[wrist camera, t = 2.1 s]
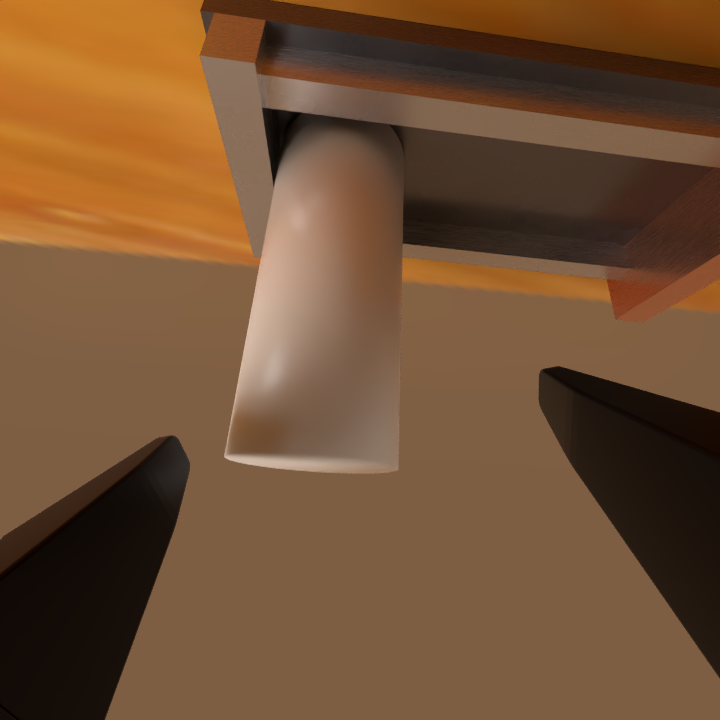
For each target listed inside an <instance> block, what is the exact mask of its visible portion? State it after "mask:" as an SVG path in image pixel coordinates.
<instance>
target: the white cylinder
mask: <svg viewBox="0 0 720 720" xmlns="http://www.w3.org/2000/svg"><path fill="white" fill-rule="evenodd" d="M403 200H404V153H403V148H402V145H401V142H400V140H399V138H398V136H397V135H396V133H395V131H394V130H393V129H392V128H391V126H390V125H389V124H385V123H377V122H369V121H362V120H354V119H347V118H339V117H332V116H324V115H317V114H309V113H302V114H301V115H299V116H298V117H297V118H296V119H295V120H294V121H293V122H292V123H291V125H290V126H289V128H288V129H287V131H286V133H285V135H284V139H283V142H282V148H281V153H280V159H279V164H278V169H277V175H276V180H275V186H274V191H273V196H272V202H271V207H270V213H269V218H268V223H267V229H266V234H265V239H264V245H263V250H262V256H261V261H260V266H259V272H258V277H257V283H256V288H255V294H254V299H253V304H252V310H251V315H250V320H249V326H248V331H247V337H246V342H245V347H244V353H243V359H242V364H241V369H240V374H239V380H238V385H237V391H236V396H235V402H234V407H233V412H232V417H231V423H230V428H229V434H228V439H227V445H226V451H225V455H224V457H225V458H226V459H229V460H231V461H235V462H240V463H244V464H250V465H256V466H263V467H270V468H278V469H288V470H299V471H311V472H330V473H386V472H393V471H397V470H398V468H399V467H398V466H399V414H400V413H399V412H400V359H401V308H402V307H401V306H402V254H403Z"/></svg>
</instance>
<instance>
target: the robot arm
mask: <svg viewBox="0 0 720 720" xmlns="http://www.w3.org/2000/svg"><path fill="white" fill-rule="evenodd" d="M539 404H540V407H541V410H542V412H543V414H544V416H545V417H546V419H547V421H548V423H549V425H550V427H551V429H552V430H553V432H554V434H555V436H556V438H557V440H558V442H559V443H560V446H561V447H562V449H563V451H564V453H565V455H566V456H567V458H568V460H569V462H570V463H571V465H572V466H573V468H574V469H575V471H576V472H577V474H578V475H579V476H580V478H581V479H582V481H583V482H584V484H585V485H586V486H587V488H588V489H589V491H590V492H591V494H592V495H593V497H594V498H595V499H596V501H597V502H598V504H599V505H600V507H601V508H602V510H603V511H604V513H605V514H606V515H607V517H608V518H609V520H610V521H611V522H612V524H613V525H614V527H615V528H616V530H617V531H618V533H619V534H620V536H621V537H622V538H623V540H624V541H625V543H626V544H627V546H628V547H629V549H630V550H631V551H632V553H633V554H634V556H635V557H636V559H637V560H638V561H639V563H640V564H641V566H642V567H643V568H644V570H645V572H646V573H647V574H648V576H649V577H650V579H651V580H652V582H653V583H654V585H655V586H656V587H657V589H658V590H659V592H660V593H661V595H662V596H663V597H664V599H665V600H666V602H667V603H668V605H669V606H670V608H671V609H672V610H673V612H674V613H675V615H676V616H677V617H678V619H679V621H680V622H681V623H682V625H683V626H684V628H685V629H686V631H687V632H688V633H689V635H690V636H691V638H692V639H693V641H694V642H695V644H696V645H697V646H698V648H699V649H700V651H701V652H702V654H703V655H704V657H705V658H706V659H707V661H708V662H709V664H710V665H711V666H712V668H713V669H714V671H715V672H716V674H717V675H718V677H719V678H720V412H716V411H713V410H709V409H706V408H702V407H699V406H695V405H692V404H688V403H685V402H681V401H678V400H674V399H671V398H667V397H664V396H660V395H657V394H653V393H650V392H647V391H643V390H640V389H636V388H633V387H629V386H626V385H622V384H619V383H616V382H612V381H609V380H605V379H602V378H598V377H595V376H591V375H588V374H584V373H581V372H577V371H573V370H570V369H567V368H563V367H560V366H557V367H551V368H545V369H542V370H541V371H540V374H539ZM189 471H190V462H189V459H188V457H187V455H186V453H185V451H184V449H183V447H182V445H181V443H180V441H179V439H178V438H177V437H176V436H173V435H171V436H165V437H159V438H157V439H155V440H153V441H152V442H150V443H149V444H147V445H146V446H144V447H142V448H141V449H139V450H138V451H136V452H135V453H133V454H132V455H130V456H128V457H127V458H125V459H124V460H122V461H120V462H119V463H117V464H116V465H114V466H113V467H111V468H109V469H108V470H106V471H105V472H103V473H102V474H100V475H99V476H97V477H95V478H94V479H92V480H91V481H89V482H88V483H86V484H84V485H83V486H81V487H80V488H78V489H77V490H75V491H73V492H72V493H70V494H69V495H67V496H66V497H64V498H63V499H61V500H59V501H58V502H56V503H55V504H53V505H51V506H50V507H48V508H47V509H45V510H44V511H42V512H41V513H39V514H37V515H36V516H34V517H33V518H31V519H30V520H28V521H27V522H25V523H23V524H22V525H20V526H19V527H17V528H15V529H14V530H12V531H11V532H9V533H8V534H6V535H4V536H3V537H2V539H1V540H0V720H105V718H106V715H107V713H108V710H109V707H110V704H111V702H112V699H113V696H114V693H115V691H116V688H117V685H118V683H119V680H120V677H121V674H122V671H123V669H124V666H125V663H126V661H127V658H128V655H129V652H130V650H131V647H132V644H133V641H134V639H135V636H136V633H137V630H138V628H139V625H140V622H141V619H142V617H143V614H144V611H145V608H146V606H147V603H148V600H149V598H150V595H151V592H152V589H153V586H154V584H155V581H156V578H157V575H158V573H159V570H160V567H161V565H162V562H163V559H164V557H165V554H166V551H167V548H168V546H169V543H170V540H171V537H172V534H173V531H174V528H175V526H176V522H177V519H178V515H179V511H180V507H181V503H182V499H183V495H184V491H185V487H186V483H187V479H188V475H189Z"/></svg>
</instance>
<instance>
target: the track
mask: <svg viewBox="0 0 720 720" xmlns="http://www.w3.org/2000/svg"><path fill="white" fill-rule="evenodd" d="M200 11H201V15H202V19H203V24H204V28H205V32H206V38H205V41H204V44H203V47H202V50H201V53H200V58H201V62H202V66H203V70H204V73H205V77H206V81H207V84H208V88H209V92H210V95H211V99H212V103H213V106H214V110H215V114H216V118H217V121H218V125H219V129H220V132H221V136H222V140H223V143H224V147H225V151H226V155H227V158H228V162H229V166H230V169H231V173H232V177H233V180H234V184H235V188H236V191H237V195H238V199H239V203H240V206H241V210H242V214H243V217H244V221H245V225H246V228H247V232H248V236H249V239H250V243H251V247H252V251H253V254H254V257H259V258H261V256H262V250H263V245H264V239H265V234H266V229H267V223H268V218H269V213H270V207H271V202H272V196H273V191H274V186H275V180H276V175H277V169H278V164H279V159H280V153H281V148H282V142H283V139H284V135H285V133H286V131H287V129H288V128H289V126H290V125H291V123H292V122H293V121H294V120H295V119H296V118H297V117H298V116H299V115H301V114H302V113H309V114H317V115H324V116H332V117H339V118H347V119H354V120H362V121H369V122H377V123H385V124H389V125H390V126H391V128H392V129H393V130H394V131H395V133H396V135H397V136H398V138H399V140H400V142H401V145H402V148H403V153H404V200H403V254H402V257H407V258H416V259H426V260H435V261H444V262H453V263H463V264H472V265H481V266H490V267H500V268H509V269H518V270H527V271H537V272H546V273H555V274H564V275H573V276H583V277H592V278H601V279H607V282H608V287H609V291H610V296H611V301H612V305H613V309H614V314H615V319H616V320H625V321H635V322H644V321H646V320H648V319H650V318H651V317H653V316H655V315H657V314H658V313H660V312H662V311H664V310H665V309H667V308H669V307H671V306H672V305H674V304H676V303H678V302H679V301H681V300H683V299H685V298H686V297H688V296H690V295H692V294H693V293H695V292H697V291H699V290H701V289H702V288H704V287H706V286H708V285H709V284H711V283H713V282H715V281H716V280H718V279H720V69H716V68H709V67H703V66H696V65H689V64H683V63H676V62H670V61H663V60H657V59H650V58H643V57H637V56H630V55H624V54H617V53H611V52H604V51H597V50H591V49H584V48H578V47H571V46H564V45H558V44H551V43H545V42H538V41H532V40H525V39H518V38H512V37H505V36H499V35H492V34H486V33H479V32H472V31H466V30H459V29H453V28H446V27H439V26H433V25H426V24H420V23H413V22H407V21H400V20H393V19H387V18H380V17H374V16H367V15H361V14H354V13H347V12H341V11H334V10H328V9H321V8H314V7H308V6H301V5H295V4H288V3H282V2H275V1H268V0H204V2H203V5H202V7H201V10H200Z"/></svg>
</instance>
